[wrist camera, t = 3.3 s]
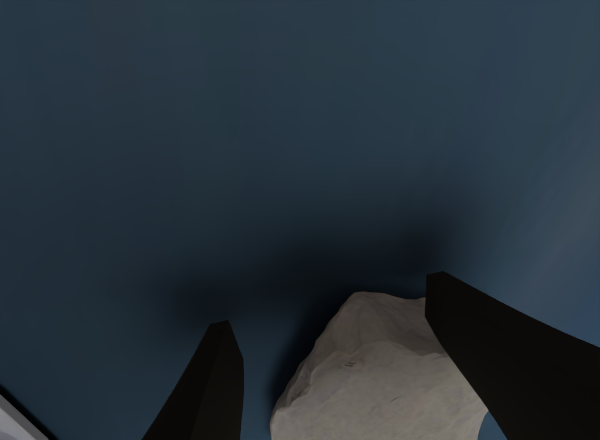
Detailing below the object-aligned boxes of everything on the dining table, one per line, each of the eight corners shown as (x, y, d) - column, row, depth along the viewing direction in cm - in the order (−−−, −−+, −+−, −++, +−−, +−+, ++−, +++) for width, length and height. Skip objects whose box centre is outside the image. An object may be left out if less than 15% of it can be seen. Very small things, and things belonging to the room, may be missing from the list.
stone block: (267, 408, 18) (415, 436, 18) (251, 506, 14) (448, 541, 14) (303, 250, 14) (497, 289, 14) (298, 318, 9) (584, 373, 9)
